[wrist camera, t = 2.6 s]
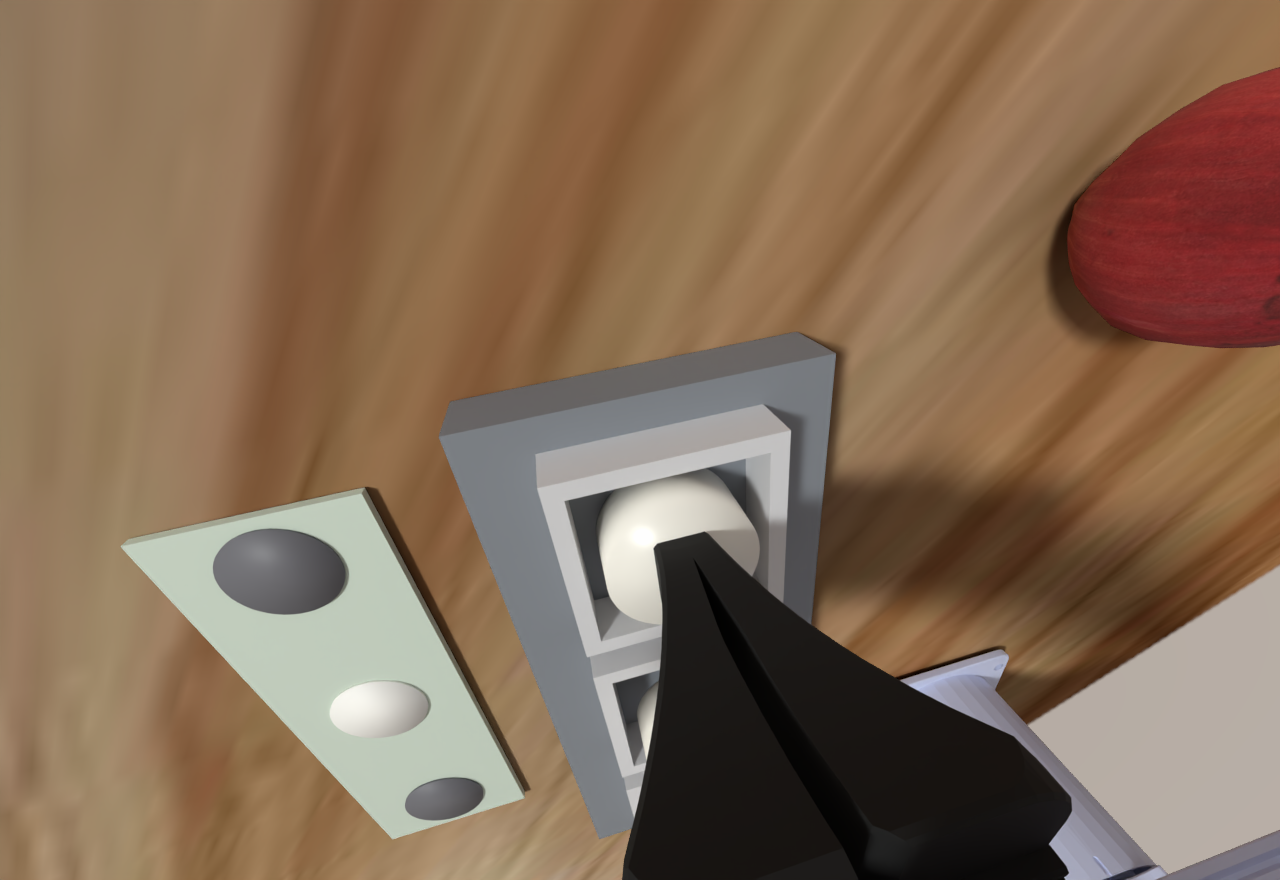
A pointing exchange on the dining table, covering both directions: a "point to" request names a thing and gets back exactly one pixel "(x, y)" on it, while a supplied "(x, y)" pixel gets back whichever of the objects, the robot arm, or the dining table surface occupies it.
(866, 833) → the robot arm
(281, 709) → the card
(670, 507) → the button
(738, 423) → the button board
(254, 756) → the dining table surface
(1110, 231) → the onion
